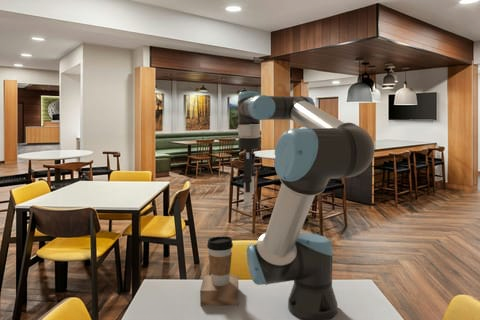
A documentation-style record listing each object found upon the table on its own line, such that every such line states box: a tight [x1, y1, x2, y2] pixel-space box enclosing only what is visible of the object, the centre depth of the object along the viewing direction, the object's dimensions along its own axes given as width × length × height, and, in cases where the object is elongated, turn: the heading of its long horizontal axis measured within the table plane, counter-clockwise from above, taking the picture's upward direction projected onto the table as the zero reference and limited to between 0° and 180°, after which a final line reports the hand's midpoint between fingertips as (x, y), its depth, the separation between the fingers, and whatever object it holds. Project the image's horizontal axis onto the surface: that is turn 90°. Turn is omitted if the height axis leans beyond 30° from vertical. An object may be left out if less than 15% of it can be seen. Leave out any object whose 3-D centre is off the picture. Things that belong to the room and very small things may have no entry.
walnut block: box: [199, 274, 239, 307], centre depth 125 cm, size 12×12×5 cm
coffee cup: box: [206, 236, 234, 286], centre depth 124 cm, size 8×8×15 cm
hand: (249, 197), depth 132 cm, fingers open, 13 cm apart
